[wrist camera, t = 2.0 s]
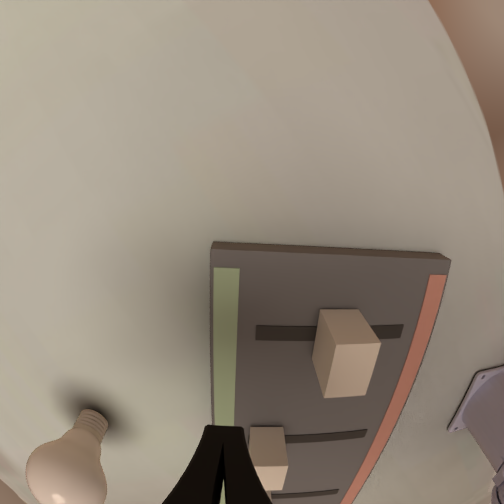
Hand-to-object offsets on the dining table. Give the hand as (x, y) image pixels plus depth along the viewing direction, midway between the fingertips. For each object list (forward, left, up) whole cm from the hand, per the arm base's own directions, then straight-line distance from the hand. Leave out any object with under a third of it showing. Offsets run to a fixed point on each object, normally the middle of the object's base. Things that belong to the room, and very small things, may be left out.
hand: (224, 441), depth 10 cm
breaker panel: (-6, +10, -10) cm, 15 cm away
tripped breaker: (-6, 0, -8) cm, 10 cm away
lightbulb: (+12, +11, -10) cm, 19 cm away
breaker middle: (-3, +10, -8) cm, 13 cm away
